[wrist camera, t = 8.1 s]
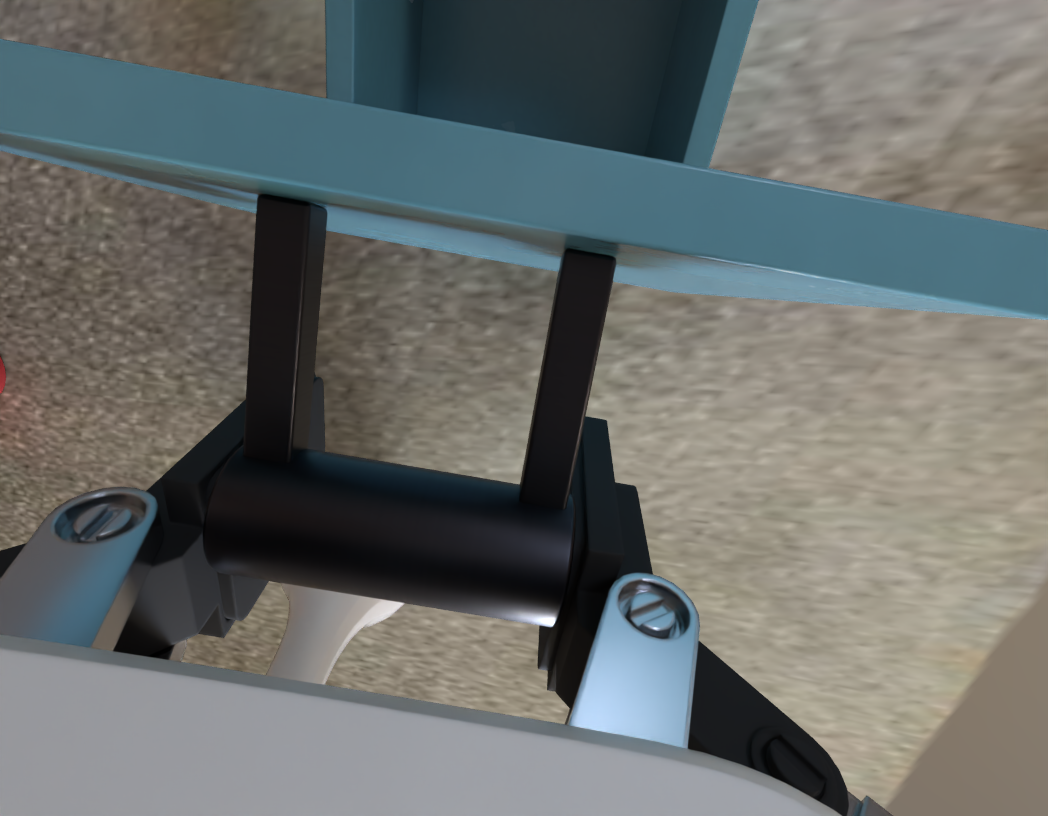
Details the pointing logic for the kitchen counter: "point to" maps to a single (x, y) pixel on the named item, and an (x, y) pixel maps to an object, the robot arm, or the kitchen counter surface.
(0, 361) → the canned food
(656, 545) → the kitchen counter surface
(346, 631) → the flower vase
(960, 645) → the kitchen counter surface
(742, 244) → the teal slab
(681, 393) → the kitchen counter surface
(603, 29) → the teal box
